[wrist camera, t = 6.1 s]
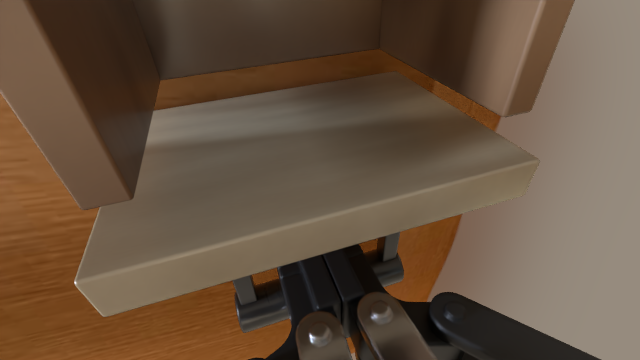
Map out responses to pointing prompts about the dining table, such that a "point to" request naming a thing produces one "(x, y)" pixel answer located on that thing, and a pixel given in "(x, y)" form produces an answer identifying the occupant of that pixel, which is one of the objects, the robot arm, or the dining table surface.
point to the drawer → (267, 132)
